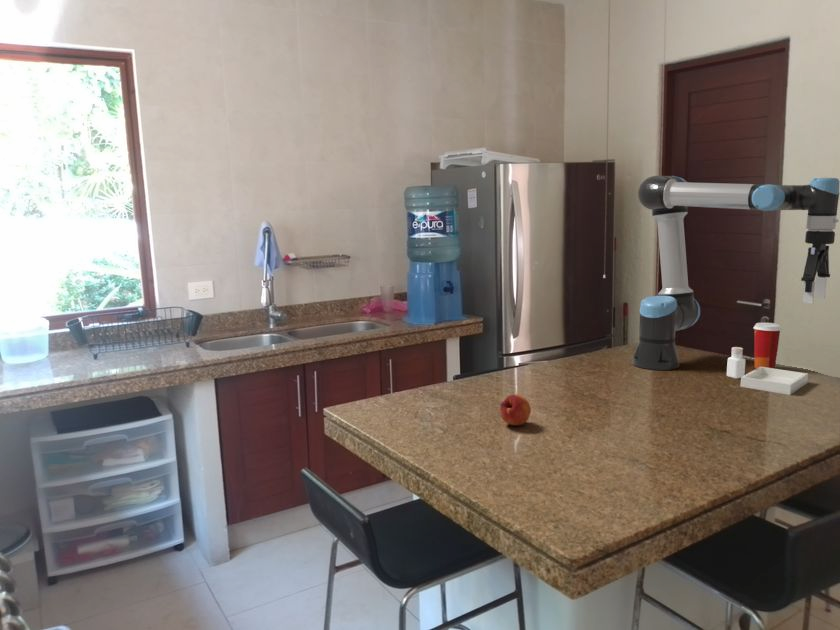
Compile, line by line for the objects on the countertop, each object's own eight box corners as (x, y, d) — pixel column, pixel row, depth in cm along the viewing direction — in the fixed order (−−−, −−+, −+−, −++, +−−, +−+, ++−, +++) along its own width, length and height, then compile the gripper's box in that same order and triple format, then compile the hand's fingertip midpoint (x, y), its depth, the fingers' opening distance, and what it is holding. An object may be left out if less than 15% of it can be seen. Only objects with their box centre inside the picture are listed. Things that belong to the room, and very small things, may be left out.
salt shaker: (736, 379, 210) (737, 349, 208) (725, 376, 213) (727, 347, 212) (745, 377, 211) (747, 348, 210) (734, 375, 215) (736, 346, 213)
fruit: (493, 422, 171) (493, 392, 170) (520, 418, 174) (520, 388, 173) (509, 431, 164) (509, 400, 162) (537, 427, 167) (537, 396, 166)
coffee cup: (772, 365, 226) (775, 322, 224) (782, 371, 218) (786, 326, 216) (746, 365, 227) (749, 322, 225) (756, 371, 219) (759, 326, 217)
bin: (740, 386, 201) (741, 377, 201) (760, 375, 213) (760, 366, 213) (789, 394, 192) (790, 384, 191) (807, 383, 204) (808, 373, 204)
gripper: (824, 232, 188) (817, 306, 191) (844, 229, 206) (837, 297, 209) (794, 231, 193) (788, 303, 196) (817, 228, 211) (810, 295, 214)
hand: (813, 300), depth 203 cm, fingers open, 13 cm apart
